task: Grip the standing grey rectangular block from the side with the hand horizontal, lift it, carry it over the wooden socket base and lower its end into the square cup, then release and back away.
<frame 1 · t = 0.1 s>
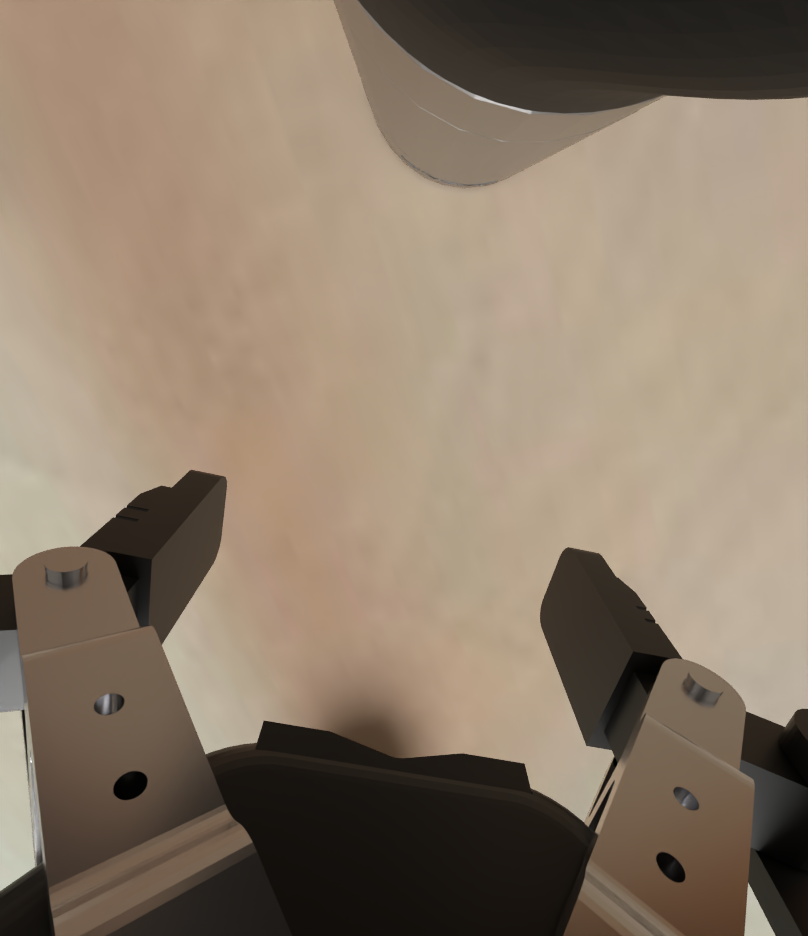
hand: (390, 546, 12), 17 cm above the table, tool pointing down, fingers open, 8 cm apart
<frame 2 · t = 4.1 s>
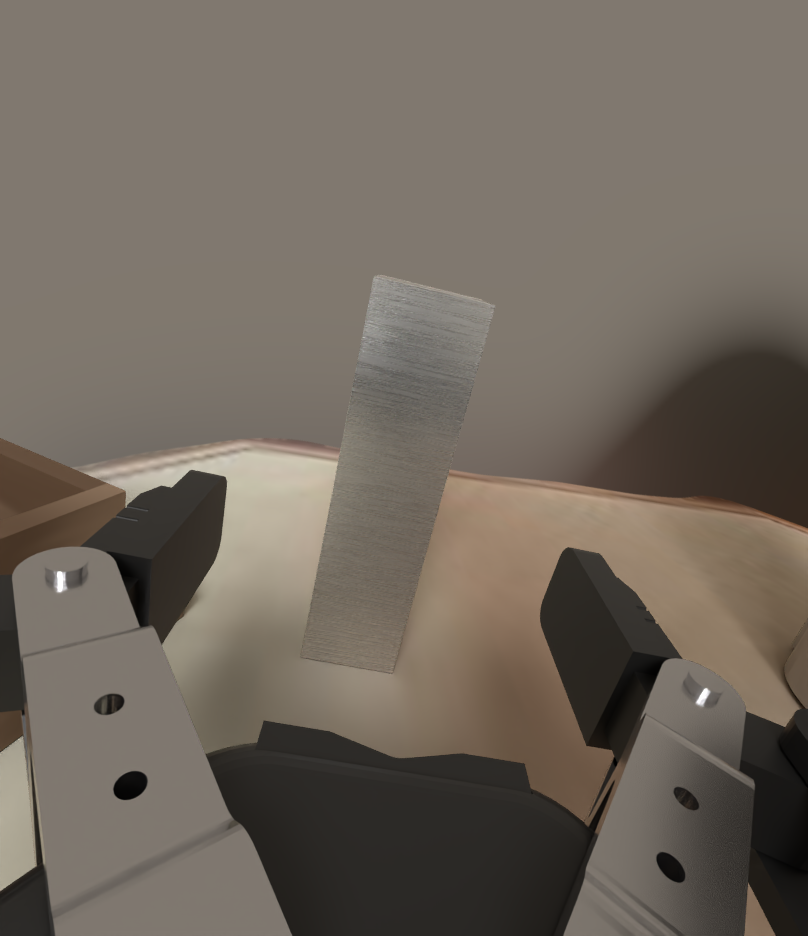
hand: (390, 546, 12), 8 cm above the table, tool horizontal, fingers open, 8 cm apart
grey rectangular block: (351, 634, 21), on the table
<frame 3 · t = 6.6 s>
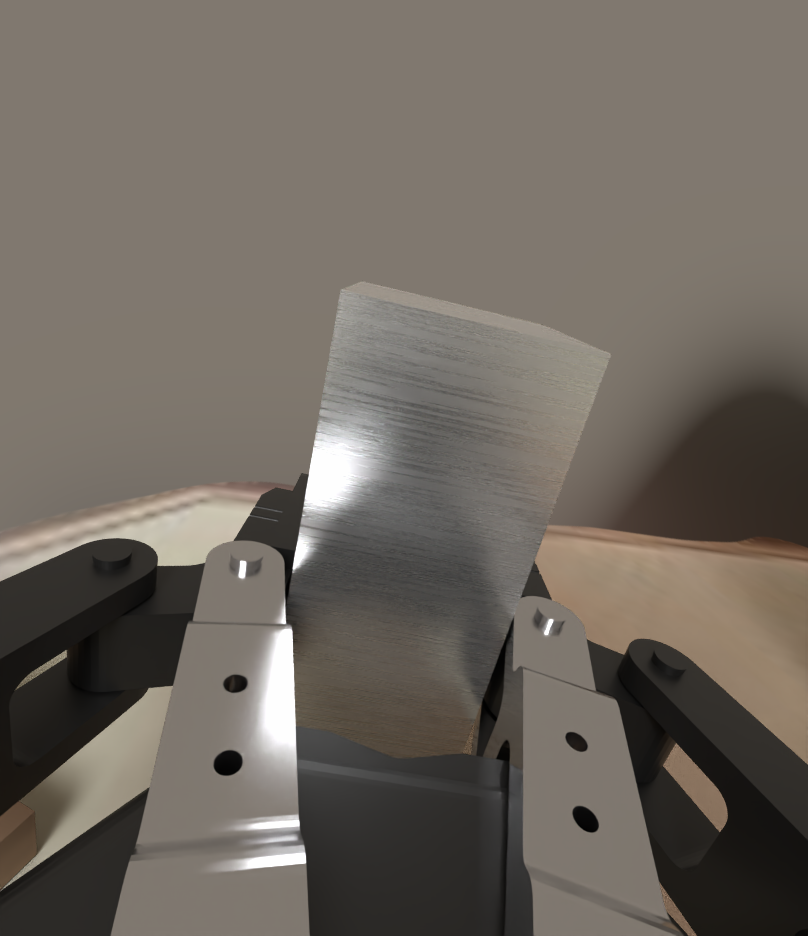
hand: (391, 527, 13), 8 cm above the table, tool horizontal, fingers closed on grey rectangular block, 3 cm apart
grey rectangular block: (321, 859, 13), on the table, touching gripper
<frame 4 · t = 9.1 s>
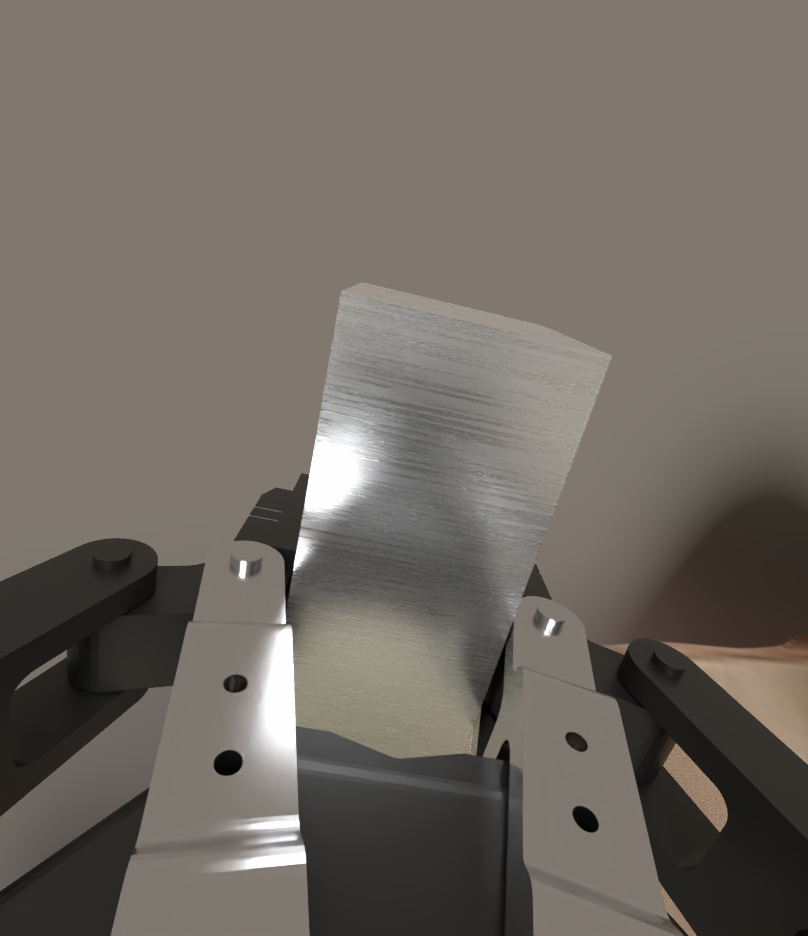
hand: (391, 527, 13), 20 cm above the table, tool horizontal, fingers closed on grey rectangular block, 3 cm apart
grey rectangular block: (321, 861, 13), point 12 cm above the table, touching gripper
when the fingers open (11 cm above the table, at t = 11.7 s): grey rectangular block stays where it is, resting on wooden socket base.
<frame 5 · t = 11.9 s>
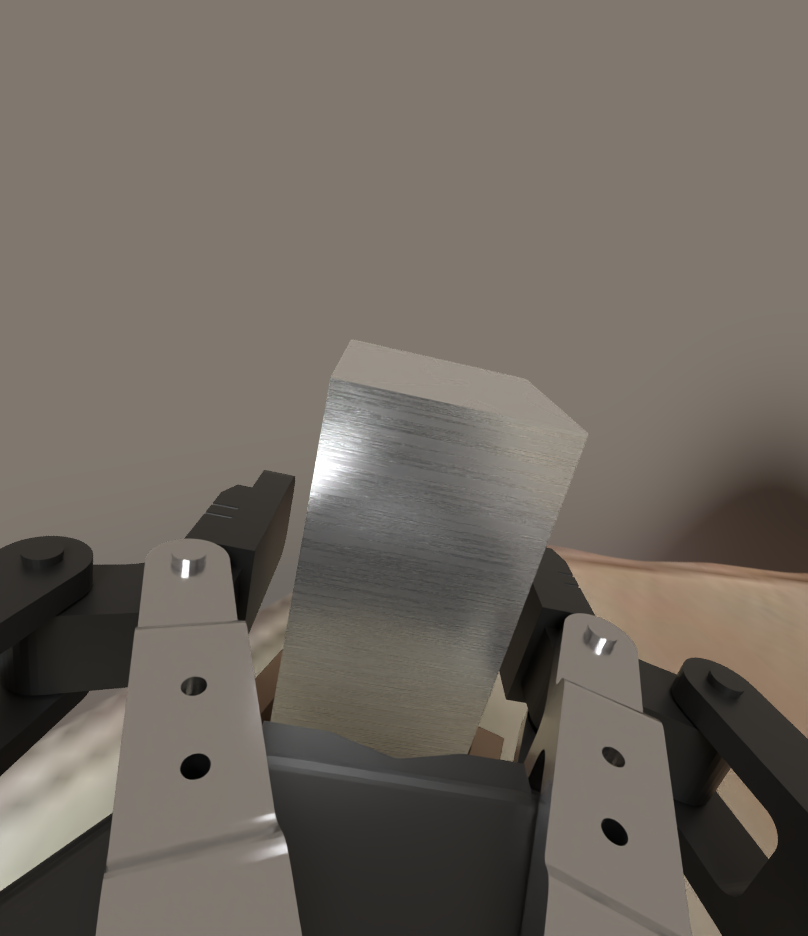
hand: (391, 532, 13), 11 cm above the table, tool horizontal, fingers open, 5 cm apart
grey rectangular block: (315, 888, 14), point 1 cm above the table, touching wooden socket base
wooden socket base: (304, 919, 14), on the table
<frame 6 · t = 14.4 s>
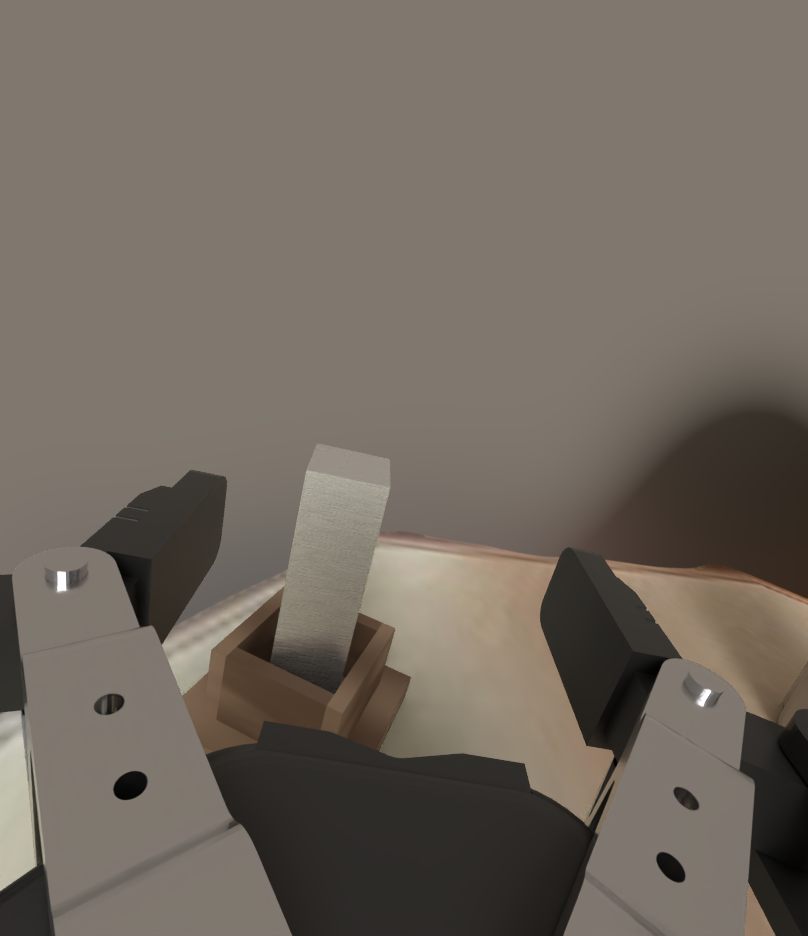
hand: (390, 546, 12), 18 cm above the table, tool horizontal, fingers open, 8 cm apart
grey rectangular block: (299, 697, 28), point 1 cm above the table, touching wooden socket base
wooden socket base: (294, 716, 29), on the table
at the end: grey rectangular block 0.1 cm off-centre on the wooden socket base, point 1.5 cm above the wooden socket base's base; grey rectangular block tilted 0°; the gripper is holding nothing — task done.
